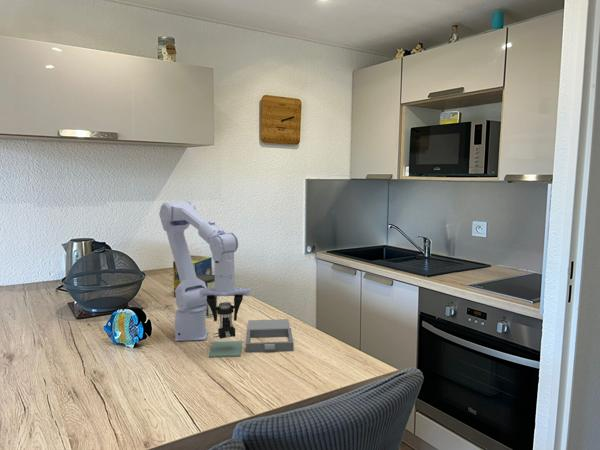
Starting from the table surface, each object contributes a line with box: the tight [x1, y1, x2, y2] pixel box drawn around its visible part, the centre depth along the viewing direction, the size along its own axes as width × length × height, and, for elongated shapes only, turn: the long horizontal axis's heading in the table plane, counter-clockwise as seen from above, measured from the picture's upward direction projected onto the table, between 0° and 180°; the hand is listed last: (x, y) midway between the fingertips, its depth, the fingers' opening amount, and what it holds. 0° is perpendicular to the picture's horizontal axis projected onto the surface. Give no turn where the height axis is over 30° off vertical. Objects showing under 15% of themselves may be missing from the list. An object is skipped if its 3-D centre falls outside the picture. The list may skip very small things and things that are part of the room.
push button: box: [212, 301, 236, 339], centre depth 136 cm, size 7×5×10 cm
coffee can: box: [190, 274, 219, 319], centre depth 170 cm, size 10×10×14 cm
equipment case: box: [245, 318, 294, 353], centre depth 147 cm, size 14×27×2 cm, turn 5°
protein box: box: [172, 255, 213, 298], centre depth 199 cm, size 10×15×16 cm
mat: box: [208, 340, 243, 358], centre depth 136 cm, size 9×11×1 cm
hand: (225, 319), depth 135 cm, fingers closed on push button, 5 cm apart
